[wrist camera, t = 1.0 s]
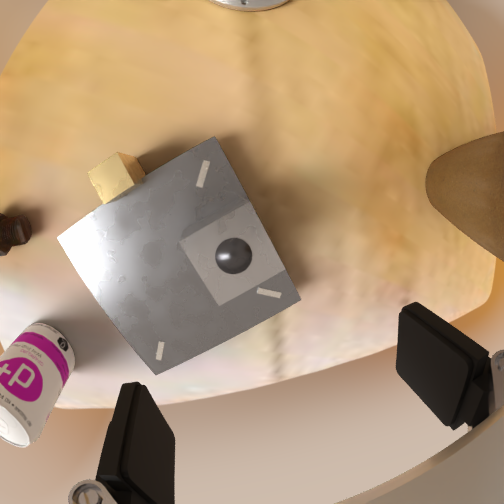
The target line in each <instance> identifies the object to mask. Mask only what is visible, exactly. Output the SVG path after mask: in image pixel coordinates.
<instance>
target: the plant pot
mask: <svg viewBox="0 0 504 504" xmlns="http://www.w3.org/2000/svg"><path fill="white" fill-rule="evenodd" d="M426 191H427V195H428V198H429V200H430V202H431V204H432V205H433V206H434V207H435V208H436V209H437V210H438V211H439V212H440V213H441V214H442V215H443V216H444V217H445V218H447V219H448V220H449V221H450V222H451V223H452V224H453V225H455V226H456V227H457V228H458V229H459V230H461V231H462V232H463V233H464V234H466V235H467V236H468V237H470V238H471V239H472V240H473V241H475V242H476V243H477V244H479V245H480V246H482V247H483V248H484V249H486V250H487V251H489V252H490V253H492V254H493V255H495V256H496V257H498V258H499V259H501V260H502V261H504V132H500V133H496V134H492V135H489V136H486V137H482V138H479V139H477V140H474V141H471V142H469V143H466V144H464V145H461V146H459V147H457V148H455V149H453V150H451V151H449V152H447V153H445V154H444V155H442V156H440V157H439V158H437V159H436V160H434V161H433V162H432V164H431V165H430V167H429V169H428V172H427V176H426Z"/></svg>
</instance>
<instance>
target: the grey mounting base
mask: <svg viewBox="0 0 504 504" xmlns="http://www.w3.org/2000/svg"><path fill="white" fill-rule="evenodd" d="M87 174H88V176H89V178H90V180H91V182H92V183H93V185H94V187H95V189H96V191H97V193H98V195H99V197H100V198H101V200H102V202H103V204H102V205H101V206H99V207H98V208H96V209H95V210H94V211H92V212H91V213H89V214H88V215H87V216H85V217H84V218H83V219H81V220H80V221H79V222H77V223H76V224H75V225H73V226H72V227H71V228H69V229H68V230H67V231H65V232H64V233H63V234H62V235H60V236H59V237H58V240H59V241H60V243H61V245H62V247H63V248H64V250H65V252H66V253H67V255H68V257H69V258H70V260H71V262H72V263H73V265H74V267H75V268H76V270H77V271H78V273H79V275H80V276H81V278H82V279H83V281H84V282H85V284H86V285H87V287H88V288H89V290H90V291H91V293H92V294H93V296H94V297H95V299H96V300H97V301H98V303H99V304H100V306H101V307H102V309H103V310H104V311H105V313H106V314H107V316H108V317H109V318H110V320H111V321H112V322H113V324H114V325H115V326H116V328H117V329H118V330H119V332H120V333H121V334H122V335H123V337H124V338H125V339H126V340H127V342H128V343H129V344H130V345H131V347H132V348H133V349H134V350H135V352H136V353H137V354H138V355H139V356H140V358H141V359H142V360H143V361H144V362H145V364H146V365H147V366H148V367H149V368H150V369H151V371H152V372H153V373H154V374H155V375H158V374H160V373H162V372H164V371H166V370H168V369H170V368H173V367H175V366H177V365H179V364H181V363H183V362H185V361H187V360H189V359H191V358H193V357H195V356H197V355H199V354H201V353H203V352H205V351H207V350H209V349H211V348H213V347H215V346H217V345H219V344H221V343H223V342H225V341H227V340H229V339H231V338H233V337H235V336H237V335H239V334H240V333H242V332H244V331H246V330H248V329H250V328H252V327H254V326H255V325H257V324H259V323H261V322H263V321H265V320H266V319H268V318H270V317H272V316H274V315H275V314H277V313H279V312H281V311H283V310H284V309H286V308H288V307H290V306H291V305H293V304H295V303H297V302H298V301H300V300H301V298H300V296H299V294H298V292H297V290H296V288H295V286H294V284H293V282H292V280H291V278H290V277H289V275H288V273H287V271H286V269H285V270H283V271H281V272H280V273H278V274H276V275H274V276H273V277H271V278H269V279H267V280H266V281H264V282H262V283H260V284H258V285H257V286H255V287H253V288H251V289H249V290H248V291H246V292H244V293H242V294H240V295H239V296H237V297H235V298H233V299H231V300H229V301H228V302H226V303H224V304H222V305H220V306H219V305H218V304H217V302H216V301H215V299H214V298H213V296H212V294H211V293H210V291H209V290H208V288H207V287H206V285H205V284H204V282H203V280H202V279H201V277H200V276H199V274H198V272H197V271H196V269H195V268H194V266H193V264H192V263H191V261H190V259H189V258H188V256H187V255H186V253H185V251H184V250H183V248H182V246H181V245H180V243H179V240H180V237H181V235H182V232H183V230H184V229H186V228H187V227H189V226H191V225H193V224H194V223H196V222H198V221H200V220H201V219H203V218H205V217H207V216H208V215H210V214H212V213H214V212H215V211H217V210H219V209H221V208H223V207H224V206H226V205H228V204H230V203H232V202H233V201H235V200H237V199H239V198H241V197H242V198H244V199H246V200H248V201H250V200H249V198H248V196H247V195H246V193H245V191H244V189H243V187H242V185H241V183H240V182H239V180H238V178H237V176H236V174H235V172H234V170H233V169H232V167H231V165H230V163H229V161H228V159H227V158H226V156H225V154H224V152H223V150H222V148H221V147H220V145H219V143H218V141H217V139H216V138H215V136H214V137H212V138H210V139H208V140H206V141H205V142H203V143H201V144H199V145H197V146H195V147H194V148H192V149H190V150H188V151H186V152H185V153H183V154H181V155H179V156H178V157H176V158H174V159H172V160H171V161H169V162H167V163H166V164H164V165H162V166H161V167H159V168H157V169H156V170H154V171H152V172H151V173H149V174H147V175H145V173H144V171H143V169H142V168H141V166H140V164H139V162H138V160H137V158H136V157H134V156H130V155H126V154H122V153H118V152H117V153H115V154H114V155H112V156H111V157H109V158H108V159H106V160H105V161H103V162H102V163H101V164H99V165H98V166H96V167H95V168H94V169H92V170H91V171H89V172H88V173H87ZM250 203H251V202H250ZM255 212H256V211H255ZM256 214H257V213H256ZM257 216H258V215H257ZM258 218H259V217H258ZM264 229H265V228H264ZM265 231H266V230H265ZM266 233H267V232H266ZM267 235H268V234H267ZM268 237H269V236H268ZM275 250H276V249H275ZM276 252H277V251H276ZM277 254H278V253H277ZM278 256H279V255H278ZM279 258H280V257H279ZM280 260H281V259H280ZM281 262H282V261H281Z"/></svg>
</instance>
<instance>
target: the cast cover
mask: <svg viewBox="0 0 504 504" xmlns="http://www.w3.org/2000/svg"><path fill="white" fill-rule="evenodd" d="M179 243H180V245H181V246H182V248H183V250H184V251H185V253H186V255H187V256H188V258H189V259H190V261H191V263H192V264H193V266H194V268H195V269H196V271H197V272H198V274H199V276H200V277H201V279H202V280H203V282H204V284H205V285H206V287H207V288H208V290H209V291H210V293H211V294H212V296H213V298H214V299H215V301H216V302H217V304H218V305H219V306H220V305H222V304H224V303H226V302H228V301H229V300H231V299H233V298H235V297H237V296H239V295H240V294H242V293H244V292H246V291H248V290H249V289H251V288H253V287H255V286H257V285H258V284H260V283H262V282H264V281H266V280H267V279H269V278H271V277H273V276H274V275H276V274H278V273H280V272H281V271H283V270H285V267H284V265H283V263H282V262H281V260H280V258H279V256H278V254H277V252H276V250H275V248H274V246H273V244H272V242H271V240H270V238H269V237H268V235H267V233H266V231H265V229H264V227H263V225H262V223H261V221H260V219H259V218H258V216H257V214H256V212H255V210H254V208H253V206H252V204H251V203H250V201H248V200H246V199H244V198H242V197H241V198H239V199H237V200H235V201H233V202H232V203H230V204H228V205H226V206H224V207H223V208H221V209H219V210H217V211H215V212H214V213H212V214H210V215H208V216H207V217H205V218H203V219H201V220H200V221H198V222H196V223H194V224H193V225H191V226H189V227H187V228H186V229H184V230H183V232H182V235H181V237H180V240H179Z"/></svg>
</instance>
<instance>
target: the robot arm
mask: <svg viewBox="0 0 504 504" xmlns="http://www.w3.org/2000/svg"><path fill="white" fill-rule="evenodd" d="M209 1H210V2H212V3H215V4H217V5H219V6H222V7H226V8H229V9H234V10H240V11H262V10H267V9H272V8H275V7H278V6H280V5H282V4H284V3H286V2H287V1H289V0H209ZM488 355H489V352H488V351H487V350H486V349H484V348H483V347H482V346H480V345H479V344H477V343H476V342H475V341H473V340H472V339H470V338H469V337H468V336H466V335H464V334H463V333H462V332H461V331H459V330H458V329H456V328H455V327H453V326H452V325H450V324H449V323H448V322H446V321H445V320H443V319H442V318H440V317H439V316H437V315H436V314H435V313H433V312H432V311H430V310H429V309H427V308H426V307H424V306H423V305H421V304H420V303H418V302H414V303H411V304H409V305H407V306H404V307H403V308H402V311H401V312H400V313H399V325H398V344H397V359H396V370H397V373H398V374H399V376H400V377H401V378H402V379H403V380H404V381H405V382H406V383H407V384H408V385H409V386H410V387H411V389H412V390H413V391H414V392H415V393H416V394H417V395H418V396H419V397H420V399H421V400H422V401H423V402H424V403H425V404H426V405H427V406H428V407H429V408H430V409H431V411H432V412H433V413H434V414H435V415H436V416H437V417H438V418H439V420H440V421H441V422H442V423H443V424H444V425H445V426H450V427H451V428H452V429H453V430H455V429H457V428H458V427H459V426H461V425H462V424H464V422H465V423H466V424H467V425H468V433H467V434H465V435H464V436H462V437H461V438H459V439H458V440H457V441H455V442H454V443H453V444H451V445H449V446H448V447H446V448H445V449H443V450H442V451H440V452H439V453H437V454H436V455H434V456H432V457H431V458H429V459H427V460H426V461H424V462H422V463H421V464H419V465H417V466H415V467H414V468H412V469H410V470H408V471H406V472H404V473H403V474H401V475H399V476H397V477H395V478H393V479H391V480H389V481H387V482H385V483H383V484H381V485H378V486H376V487H374V488H372V489H370V490H368V491H365V492H363V493H360V494H358V495H356V496H353V497H351V498H348V499H345V500H343V501H340V502H338V503H335V504H504V350H500V351H498V352H496V353H495V354H494V355H493V356H492V358H489V357H488ZM174 466H175V437H174V434H173V432H172V430H171V428H170V427H169V425H168V424H167V422H166V420H165V419H164V417H163V415H162V414H161V412H160V410H159V408H158V407H157V405H156V403H155V402H154V400H153V398H152V396H151V394H150V393H149V391H148V389H147V387H146V386H145V385H141V384H140V383H139V382H132V383H125V384H122V386H121V390H120V393H119V397H118V400H117V403H116V407H115V411H114V414H113V418H112V421H111V422H110V424H109V426H108V430H107V434H106V438H105V441H104V446H103V449H102V453H101V457H100V462H99V466H98V470H97V475H96V479H95V480H90V479H89V480H84V481H81V482H78V483H77V484H76V485H75V486H74V487H73V488H72V490H71V491H70V493H69V496H68V500H69V501H68V502H69V504H175V500H174V472H175V471H174V470H175V467H174Z"/></svg>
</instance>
